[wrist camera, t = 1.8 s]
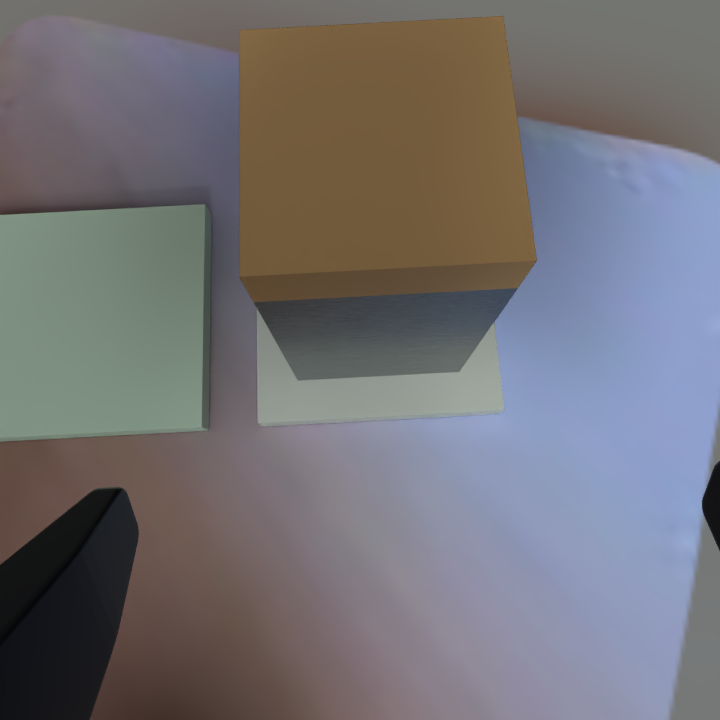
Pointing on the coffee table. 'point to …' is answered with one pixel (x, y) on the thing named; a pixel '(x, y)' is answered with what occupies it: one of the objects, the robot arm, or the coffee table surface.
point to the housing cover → (380, 161)
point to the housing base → (382, 332)
